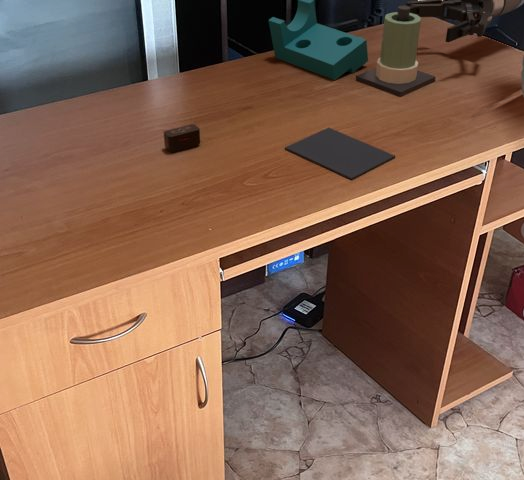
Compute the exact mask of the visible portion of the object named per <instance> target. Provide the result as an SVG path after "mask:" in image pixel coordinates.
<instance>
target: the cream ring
mask: <svg viewBox="0 0 524 480" xmlns="http://www.w3.org/2000/svg"><path fill="white" fill-rule="evenodd" d="M375 68H376V77H377V78H378V79H379V80H381V81H384V82H387V83H393V84H404V83H410V82H412V81H414V80H415V79H416V76H417V70H418V68H419V61H417V60H416V61H415V65H414V66H412V67H409V68H401V69H398V68H391V67H388V66H385V65H383V64H382V63H381V62H380V57H379V58H378V59H377V61H376V67H375Z"/></svg>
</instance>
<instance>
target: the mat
mask: <svg viewBox="0 0 524 480" xmlns="http://www.w3.org/2000/svg"><path fill="white" fill-rule="evenodd" d="M284 150H285V151H288V152H290V153H292V154H293V155H297V156H299V157H301V158H302V159H305V160H307V161H310V162H311V163H314V164H315V165H318V166H320V167H321V168H324V169H327V170H328V171H331V172H333V173H335V174H337V175H339V176H342V177H344V178H346V179H348V180H350V181H353V180H355V179H357V178H358V177H360V176H362V175H365V174H367V173H368V172H371V171H372V170H374V169H377V168H378V167H380V166H383V165H384V164H386V163H388V162H390V161H392V160H393V159H396V155H395V154H393V153H390V152H388V151H385V150H383V149H380V148H378V147H377V146H376V147H375V146H373V145H372V144H368V143H366V142H364V141H362V140H360V139H357V138H356V137H355V138H354V137H352V136H350V135H347V134H345V133H343V132H340V131H338V130H336V129H334V128H331V127H327V128H325V129H322V130H320V131H317V132H315V133H314V134H311V135H308V136H307V137H305V138H302V139H300V140H298V141H296V142H294V143H292V144H289V145H287V146H285V147H284Z"/></svg>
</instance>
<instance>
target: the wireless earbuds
mask: <svg viewBox="0 0 524 480" xmlns="http://www.w3.org/2000/svg"><path fill="white" fill-rule="evenodd" d="M163 141H164V143H163V144H164V148H165V149H166V150H167V151H168V152H170V153H177V152H179V151H183V150H186V149H187V150H188V149H191V148H194V147H198V146H200V145H201V129H200V127H198V125H196V124H195V123H192V124H187V125H183V126H179V127H175V128H174V127H173V128H171V129H166V130H163Z"/></svg>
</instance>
